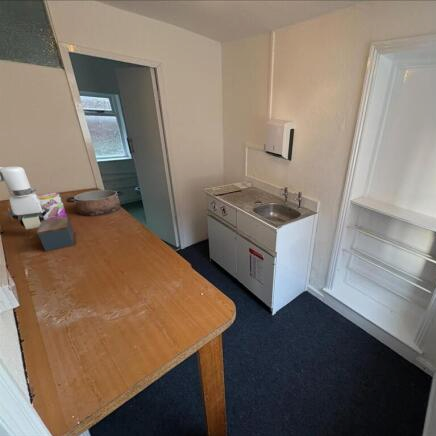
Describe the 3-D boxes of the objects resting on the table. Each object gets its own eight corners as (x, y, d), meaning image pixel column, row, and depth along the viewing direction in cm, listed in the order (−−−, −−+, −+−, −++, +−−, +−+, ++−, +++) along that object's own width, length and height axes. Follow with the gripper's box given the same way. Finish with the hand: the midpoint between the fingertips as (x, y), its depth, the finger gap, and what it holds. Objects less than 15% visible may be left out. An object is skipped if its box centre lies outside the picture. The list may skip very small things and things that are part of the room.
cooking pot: (71, 220, 141) (65, 203, 137) (71, 209, 156) (66, 194, 152) (129, 210, 159) (125, 195, 154) (125, 201, 174) (121, 187, 170)
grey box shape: (45, 251, 110) (37, 232, 106) (48, 237, 121) (41, 220, 117) (73, 245, 116) (66, 227, 112) (74, 233, 127) (68, 216, 123)
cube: (26, 229, 118) (21, 219, 116) (27, 225, 122) (23, 215, 120) (41, 227, 121) (37, 217, 119) (42, 223, 125) (39, 213, 123)
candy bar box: (45, 225, 133) (33, 198, 127) (41, 223, 135) (29, 196, 129) (69, 218, 143) (59, 193, 136) (65, 217, 144) (55, 192, 138)
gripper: (46, 188, 122) (57, 219, 129) (-4, 192, 112) (11, 226, 119) (44, 191, 117) (56, 224, 124) (-8, 196, 107) (8, 231, 114)
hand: (34, 224), depth 121 cm, fingers closed on cube, 5 cm apart
